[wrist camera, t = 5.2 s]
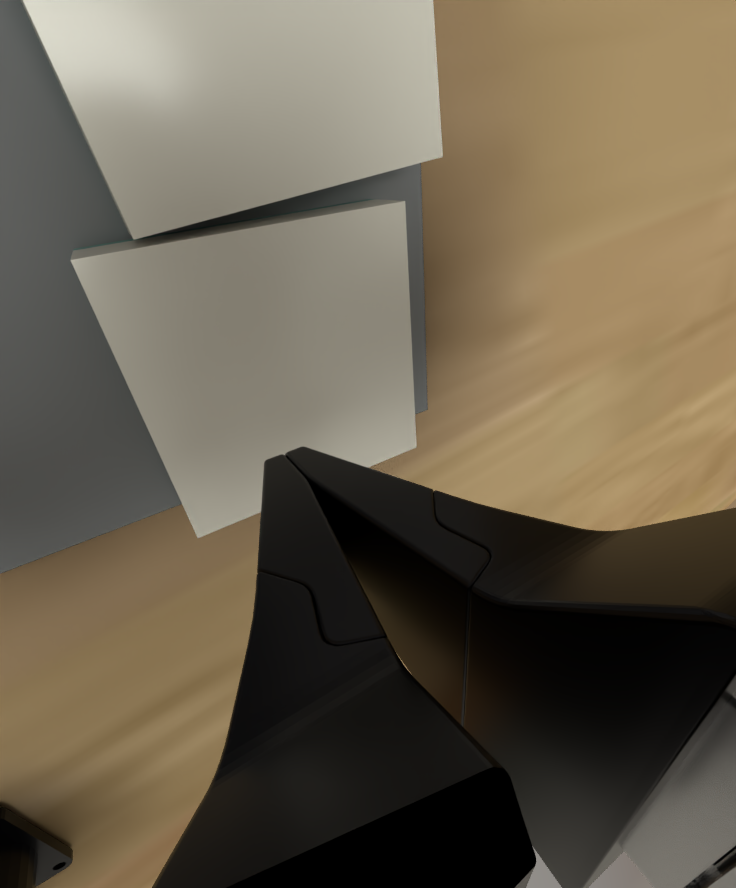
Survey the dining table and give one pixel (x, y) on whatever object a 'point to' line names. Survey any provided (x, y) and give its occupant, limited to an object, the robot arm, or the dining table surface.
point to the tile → (261, 344)
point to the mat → (93, 319)
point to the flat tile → (241, 97)
